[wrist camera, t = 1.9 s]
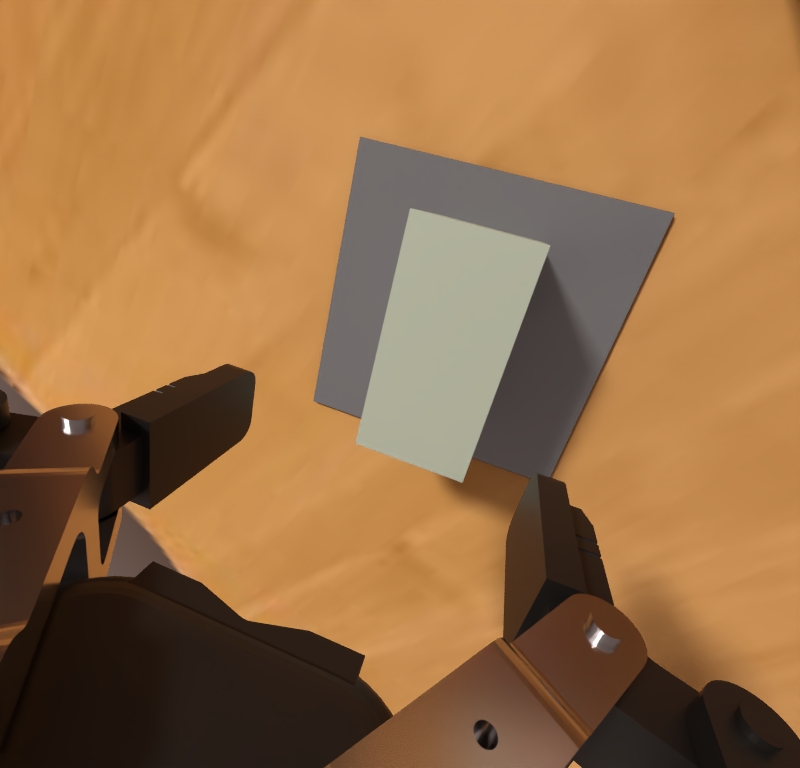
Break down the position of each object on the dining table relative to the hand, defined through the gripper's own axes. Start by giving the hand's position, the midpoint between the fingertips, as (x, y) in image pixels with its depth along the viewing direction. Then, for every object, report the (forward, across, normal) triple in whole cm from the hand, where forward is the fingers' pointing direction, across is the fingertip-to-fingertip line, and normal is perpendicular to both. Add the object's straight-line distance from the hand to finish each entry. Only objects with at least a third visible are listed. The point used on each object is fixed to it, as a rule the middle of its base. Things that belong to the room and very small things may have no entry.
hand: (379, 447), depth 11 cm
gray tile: (+17, 0, 0) cm, 17 cm away
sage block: (+17, 0, 0) cm, 17 cm away
